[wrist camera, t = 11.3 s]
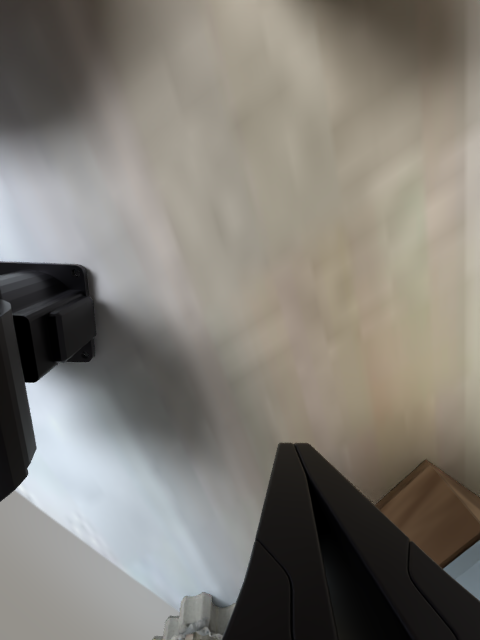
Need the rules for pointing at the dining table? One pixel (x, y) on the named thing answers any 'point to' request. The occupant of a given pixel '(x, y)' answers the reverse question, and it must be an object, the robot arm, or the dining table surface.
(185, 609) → the egg carton
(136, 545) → the dining table surface
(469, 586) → the box lid
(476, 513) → the walnut box
